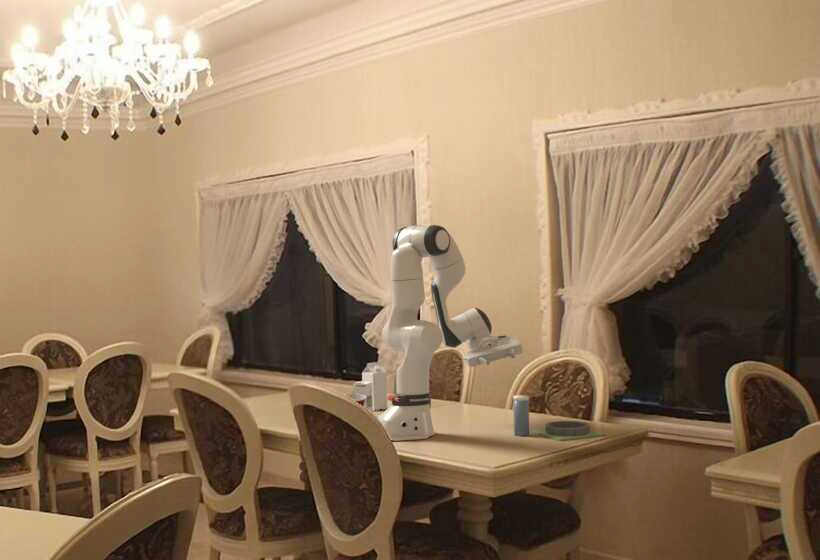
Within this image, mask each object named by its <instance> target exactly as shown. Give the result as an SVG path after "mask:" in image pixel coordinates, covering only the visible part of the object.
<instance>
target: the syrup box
mask: <svg viewBox="0 0 820 560" xmlns="http://www.w3.org/2000/svg"><path fill="white" fill-rule="evenodd" d="M352 394H361V395H365V396H366V399H365V402H364V407H366V408H367V409H368V410H370V411H371V412H372V413H373V411H372V382H368V381H362V380H361V381H357V382H356V381H355V382H353V383H352Z"/></svg>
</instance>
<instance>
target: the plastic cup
mask: <svg viewBox="0 0 820 560" xmlns="http://www.w3.org/2000/svg"><path fill="white" fill-rule="evenodd" d="M345 394H346V395H347V396H349V397H350V398H352V399H354V400H355V401H356V402H358V403H359V404H361V405H362V406H364V402H365V399H366V396H365V395H361V394H353V393H345Z"/></svg>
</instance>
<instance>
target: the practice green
mask: <svg viewBox="0 0 820 560" xmlns="http://www.w3.org/2000/svg"><path fill="white" fill-rule="evenodd" d="M590 427H591V426H590V424H589V423H588V422H583V421H576V420H575V421H573V420H559V421H557V420H556V421H550V422H549V421H548V422H547V423H545V424H544V428H537V429H529V433H530V434H531V433H533V434H534V435H539V436H542V437H545V438H548V439H552V440H555V441H559V442H562V441H570V440H572V441H573V440H581V439H589V438H596V437H597V436H598V437H604V435H606V436H607V433H605V432H601V431H597V430H595V429H591V428H590Z"/></svg>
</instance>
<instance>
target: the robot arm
mask: <svg viewBox="0 0 820 560" xmlns="http://www.w3.org/2000/svg"><path fill="white" fill-rule="evenodd" d="M392 248H393V249H392V250H393V251H392V253H391V258H390V275H389V276H390V285H391V287H390V288H391V309H390V315H389V318H388V320H387V322H386V324H385V325H384V326H383V328H382V331H381V338H382V342H383V343H384V345H385V346H387V347H388V348H390V349H392V350H395V351H398V352H404V357H403V361H402V363H401V365H399V367H397V369H396V372H395V376H396V393H395V394H388V393H387V397H386V398H387V401H390V402H391V405H390V406H389V407H387V409H384V410H385V411H383V412H382V413H381V414H380V415H379V416H377V418H378V420H379V421H380V422H381V423H382V425H383V426H384V427H385V429H386V430H387V432H388V434H389V435H390V437H391V439H392V440H393V441H392V442H395V441H396V442H397V441H398V442H400V441H411V440H427V439H429V437H431V436H434V435H435V434H436V433H435V430H434V426H433V420H432V414H431V407H432V400H431V399H432V397H431V392H430V368H431V367H430V366H431V364H432V363H431V362H432V361H433V360H432V359H433V357H434V355H435V352H437V350H439V348H440V347H441V345H442V343H443V344H444V346H446V347H448V348H453V349H456V348H457V347H458V346H460V345H462V344H463V343H464V342H466V345H467V347H468V348H469V351H467V352H466V353H465V354H464V355H463V356H462V357H461V358H462V360H464V361H466V364H467V366H468V367H470V368H474V367H478V366H481V365H485V366H488V365H491V363H492V362H496V361H499V360H502V359H506V358H510V359H515V358H516V356H517V355H521V354H522V353H523V352H524V350H523V345H522V343H521V342H520V341H519V340H517V339H515V338H511V335H508V334H507V335H499V336H496V335H492V329H493V327H492V323H491V320H490V319H489V317H488V315H487V313H485V311H483V310H482V309H480V308H477V307H472V308H470V309H468V310H466V311H464V312H462V313H460V314H458V315H457V316H454V317H453V318H450V316H449V311H448V306H447V300H448V296H449V295H450V294H451V293H452V291H454V290H455V288H456V287H458V285H459V284H460V283H461V281H463V279H464V277H465V274H466V270H467V269H466V263H465V261H464V257H463V255H462V252H461V251H460V249H459V246H458V245H457V243H456V241H455V239H454V238H453V236H452V235H451V234H450V233H449V232H448V230H447V229H446V228H445V227H443V226H441V225H436V224H432V225H428V224H427V225H425V224H424V225H422V224H418V225H416V224H415V225H412V226H403V227H402V228H399V229H397V230H396V231H395V232H394V235H393V238H392ZM428 257H429V259H430V263H431V265H432V268H433V271H434V278H433V281H432V282H431V284H430V287H431V288H430V291H431V297H432V301H433V307H434V311H435V315H436V320H437V324H436V323H434V322H432V321H429V320H424V319H423V320H422V319H418V314H419V311H420V308H421V306H422V305H423V304H424V303H425V299H426V295H425V283H424V272H423V267H422V266H423V265H422V260H423V258H428ZM491 335H492V336H491Z"/></svg>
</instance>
